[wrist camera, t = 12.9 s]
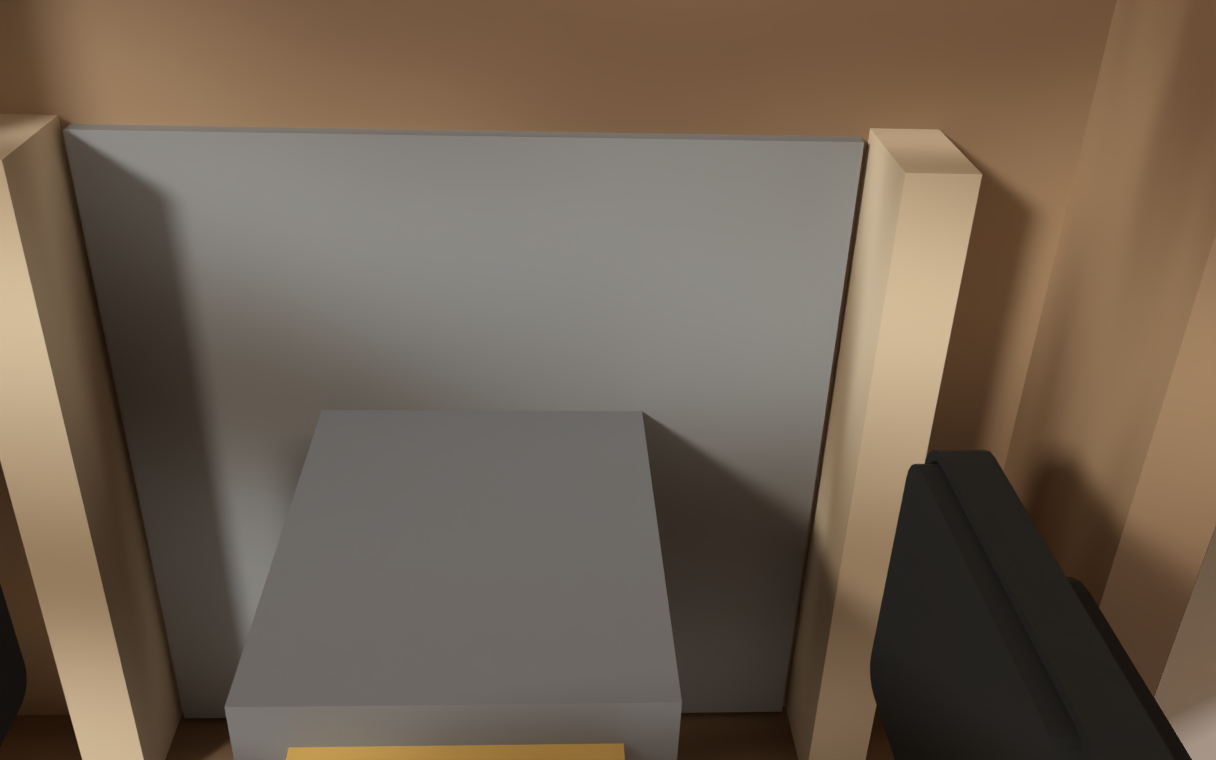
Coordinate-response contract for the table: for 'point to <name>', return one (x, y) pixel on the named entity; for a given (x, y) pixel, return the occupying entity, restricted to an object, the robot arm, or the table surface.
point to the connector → (464, 595)
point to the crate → (596, 310)
